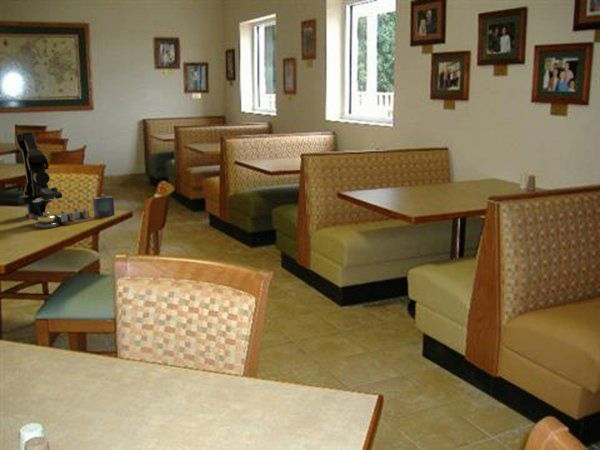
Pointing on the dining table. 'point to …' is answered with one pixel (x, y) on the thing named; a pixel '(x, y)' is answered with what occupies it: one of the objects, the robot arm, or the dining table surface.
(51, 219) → the grey red-tipped part
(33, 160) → the robot arm
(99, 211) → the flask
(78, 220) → the rack
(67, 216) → the spanner
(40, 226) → the nut base
